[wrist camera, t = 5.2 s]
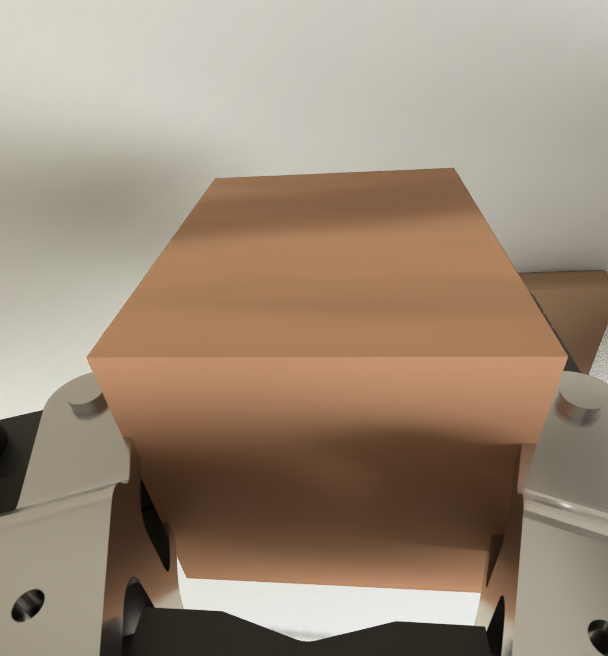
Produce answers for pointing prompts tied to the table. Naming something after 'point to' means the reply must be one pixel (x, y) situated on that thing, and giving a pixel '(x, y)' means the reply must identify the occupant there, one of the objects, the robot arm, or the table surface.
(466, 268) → the terracotta block
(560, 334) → the brown board
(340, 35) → the table surface
